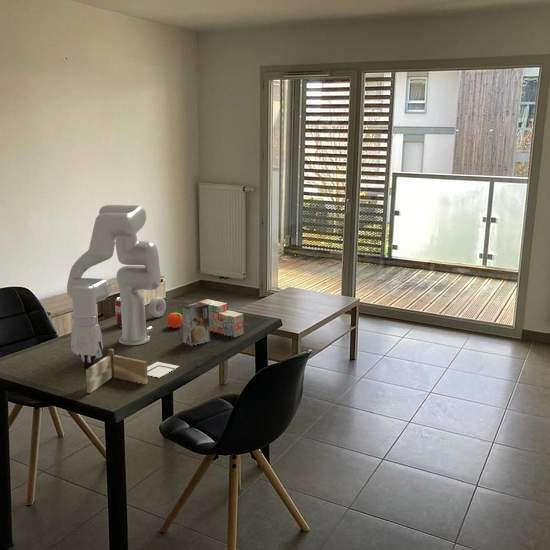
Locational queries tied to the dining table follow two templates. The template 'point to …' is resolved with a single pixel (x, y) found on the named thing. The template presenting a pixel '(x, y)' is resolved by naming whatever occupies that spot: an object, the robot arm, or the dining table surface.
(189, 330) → the coffee box
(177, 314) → the clementine
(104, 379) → the pale wooden plank
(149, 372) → the card
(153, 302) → the donut
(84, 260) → the robot arm
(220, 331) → the stack of blocks
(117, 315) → the soda can
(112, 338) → the dining table surface
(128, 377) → the wooden hinged panel
